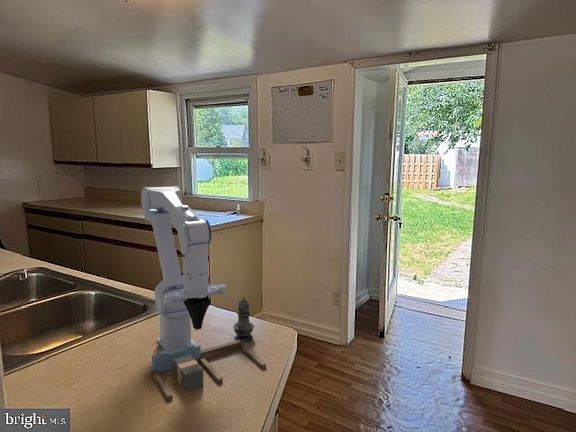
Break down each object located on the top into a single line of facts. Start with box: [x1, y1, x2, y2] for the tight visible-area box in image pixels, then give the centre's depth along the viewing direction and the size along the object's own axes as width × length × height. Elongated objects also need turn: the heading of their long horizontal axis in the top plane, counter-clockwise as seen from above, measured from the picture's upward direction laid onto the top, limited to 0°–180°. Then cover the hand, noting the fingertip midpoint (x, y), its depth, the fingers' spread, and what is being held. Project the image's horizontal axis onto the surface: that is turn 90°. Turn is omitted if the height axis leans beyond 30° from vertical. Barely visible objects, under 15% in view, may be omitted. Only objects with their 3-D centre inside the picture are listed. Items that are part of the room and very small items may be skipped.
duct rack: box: [151, 340, 267, 402], centre depth 93 cm, size 13×24×5 cm, turn 125°
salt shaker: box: [232, 297, 255, 343], centre depth 110 cm, size 6×6×12 cm
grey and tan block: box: [173, 355, 204, 393], centre depth 89 cm, size 8×4×4 cm, turn 35°
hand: (197, 327), depth 93 cm, fingers closed
